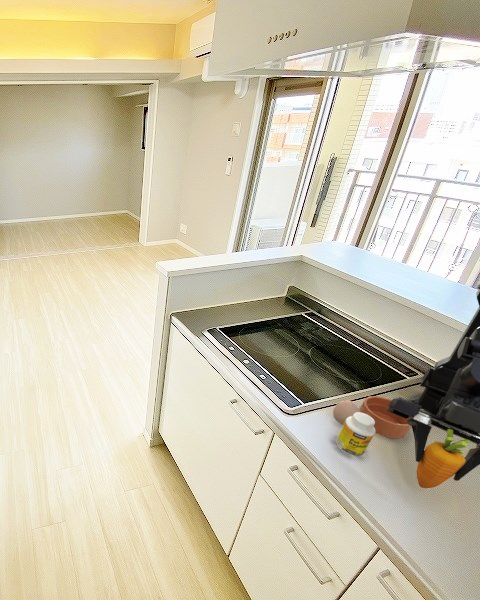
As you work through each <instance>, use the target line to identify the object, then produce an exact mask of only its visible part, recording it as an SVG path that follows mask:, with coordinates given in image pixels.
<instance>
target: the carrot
mask: <svg viewBox="0 0 480 600" xmlns="http://www.w3.org/2000/svg"><path fill="white" fill-rule="evenodd" d="M453 436H454V434H453V430H452V429H448V430H447V431H446V438H445V439H444V442H442V441H437V440H435V441H433V442H431V443H430V444H428V445H427V446H425V449H424V453H423V456H422V458H421V460H420V462H417V466H416V470H415V473H416V480H417V484H418V486H419V487H420V488H421V489H425V490H427V489H433V488H436V487H438V486H440V485H442V484H443V483H444V482H446V481H448V480H449V479H451V478H452V477H454V476H455V473H456V472H457V471H458V470H459V469H460V468H461V467H462V466H463V465H464V463H465V461H466V460H465V456H464V454H465V451H464V450H463V448H467V446H468V445H469V444H468V443H472V442H471V441H470V440H468V439H460V440H459V441H456V442H453V440H454V438H453ZM452 442H453V443H452Z"/></svg>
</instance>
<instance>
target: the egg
mask: <svg viewBox="0 0 480 600" xmlns="http://www.w3.org/2000/svg"><path fill="white" fill-rule="evenodd" d="M359 410H360V407H359V406H358V404H356V402H354V401H352V400H347V399H346V400H341V401H339V402H337V404H335V406H334V407H333V411H332V415H333V418H334V420H335V421H336V422H337V423H338V424H339V425H342V426H343V425H344V423H345V421H346V419H347V418H348V417H351V416H353V415H354V413H356V412H360V411H359Z"/></svg>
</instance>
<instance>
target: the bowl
mask: <svg viewBox="0 0 480 600" xmlns="http://www.w3.org/2000/svg"><path fill="white" fill-rule="evenodd" d="M392 400H393V399H390V398H386V397H383V396H378V395H373V396H372V395H371V396H368V397H366V398H364V400H363V401H362V404H361V406H360V407H359V411H360V412H361V413H365V414H367V415H369V416H370V417H372V418H373V419H374V421H375V424H374V428H375V434H378V435H380V436H382V437H385V438H389V439H402V438H405V437H407V436H408V434H409V433H410V431H411V430H412V426H410V425H408V424H406V421H407V420H409V419H410V418H408V419H405V418H402V417H400V416H397V415H395V414H393V413H390V412H389V411H387V409H388V406H389V404H390V402H391V401H392Z"/></svg>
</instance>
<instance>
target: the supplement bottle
mask: <svg viewBox="0 0 480 600" xmlns="http://www.w3.org/2000/svg"><path fill="white" fill-rule="evenodd" d="M374 424H375V421H374V419H373V418H372V417H370V416H369V415H367V414H365V413H361V412H356V413H354V415H353V416H351V417H348V418H347V419H346V421H345V423H344V425H342V427H341V429H340V431H339V433H338V435H337V438H336V439H335V443H336V446H337V448H339V449H340V451H342V452H343V453H345V454H346V455H348V456H352V457H361V456H363V455H364V454H365V452H366V450H367V449H368V447H369V446H370V443H371V442H372V440H373V438H374V436H375V434H376V433H375V428H374Z"/></svg>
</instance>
